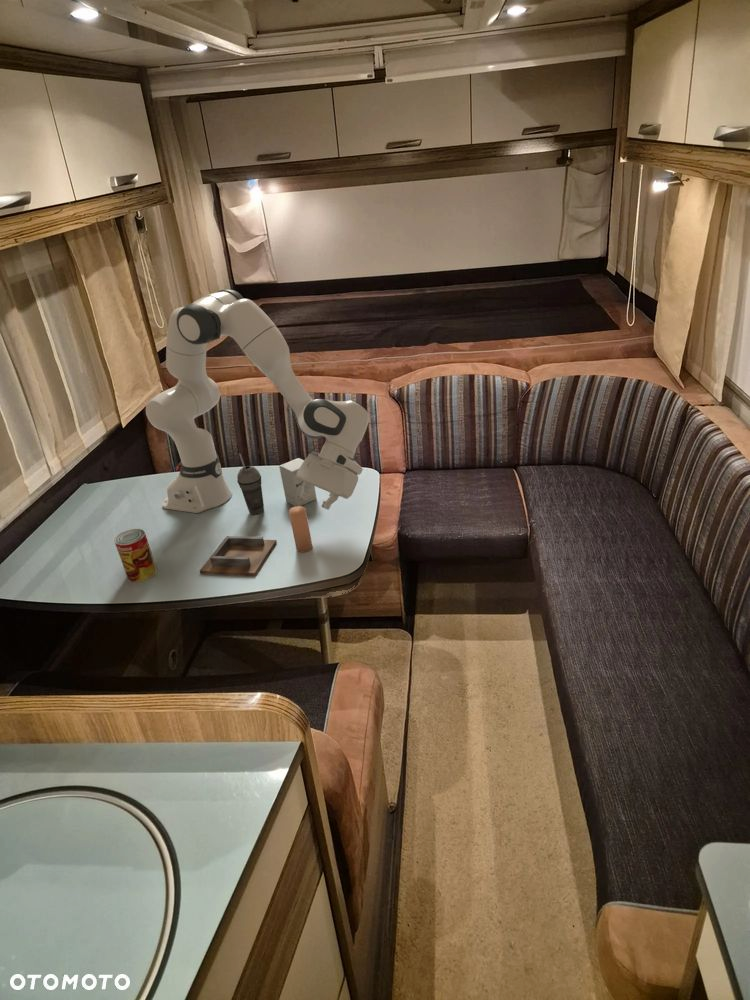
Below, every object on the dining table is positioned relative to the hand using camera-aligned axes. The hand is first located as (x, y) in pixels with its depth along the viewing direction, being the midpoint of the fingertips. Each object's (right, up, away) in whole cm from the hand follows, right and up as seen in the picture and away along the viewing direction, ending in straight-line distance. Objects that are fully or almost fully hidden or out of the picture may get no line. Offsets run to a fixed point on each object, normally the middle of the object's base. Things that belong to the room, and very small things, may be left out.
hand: (313, 503), depth 175 cm
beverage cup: (-20, -3, +24) cm, 31 cm away
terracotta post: (-3, -12, +2) cm, 13 cm away
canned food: (-47, -19, 0) cm, 51 cm away
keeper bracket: (-21, -15, +1) cm, 25 cm away
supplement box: (-7, +1, +28) cm, 28 cm away
